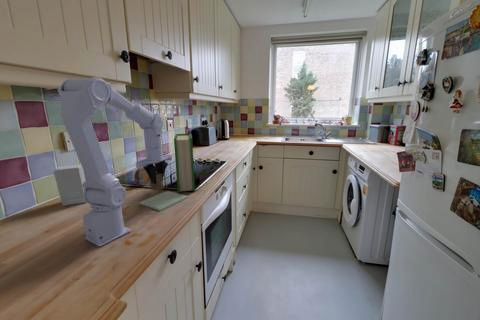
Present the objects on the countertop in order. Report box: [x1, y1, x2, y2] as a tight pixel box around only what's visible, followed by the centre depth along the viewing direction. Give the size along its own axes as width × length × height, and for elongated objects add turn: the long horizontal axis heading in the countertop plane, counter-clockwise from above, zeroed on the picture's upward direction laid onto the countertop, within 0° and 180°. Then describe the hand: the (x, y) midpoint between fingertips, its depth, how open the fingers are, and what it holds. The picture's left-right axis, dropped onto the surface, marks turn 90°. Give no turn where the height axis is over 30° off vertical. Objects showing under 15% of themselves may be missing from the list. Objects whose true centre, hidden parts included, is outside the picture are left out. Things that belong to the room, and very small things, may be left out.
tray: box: [139, 190, 189, 212], centre depth 92 cm, size 14×12×1 cm
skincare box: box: [53, 163, 87, 207], centre depth 90 cm, size 8×6×15 cm
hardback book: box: [173, 133, 196, 194], centre depth 106 cm, size 18×7×24 cm, turn 13°
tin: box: [133, 167, 151, 187], centre depth 114 cm, size 15×3×8 cm, turn 168°
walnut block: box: [150, 172, 164, 191], centre depth 87 cm, size 2×4×6 cm, turn 58°
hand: (157, 181), depth 87 cm, fingers closed on walnut block, 2 cm apart
